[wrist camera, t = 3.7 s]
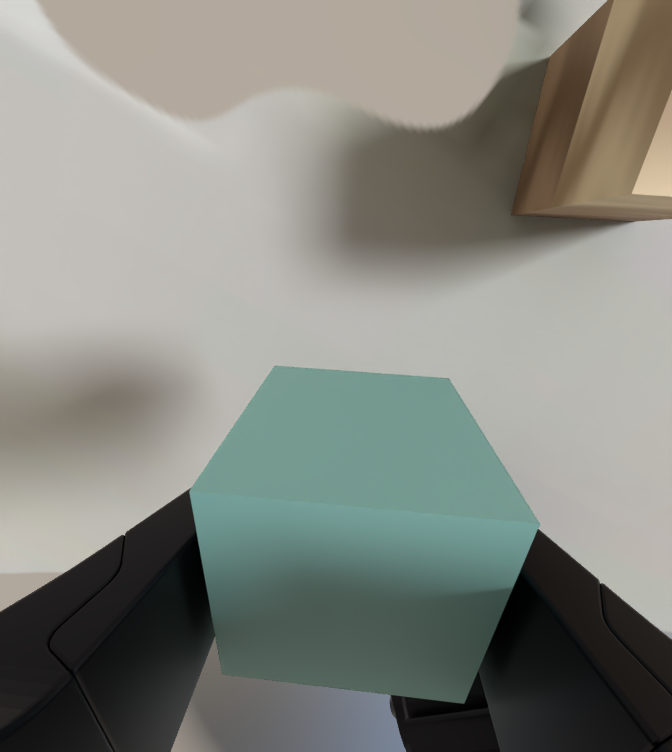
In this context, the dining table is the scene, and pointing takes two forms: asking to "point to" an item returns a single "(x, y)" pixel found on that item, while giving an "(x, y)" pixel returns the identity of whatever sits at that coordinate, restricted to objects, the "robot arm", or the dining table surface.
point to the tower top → (625, 118)
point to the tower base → (562, 125)
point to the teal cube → (358, 535)
